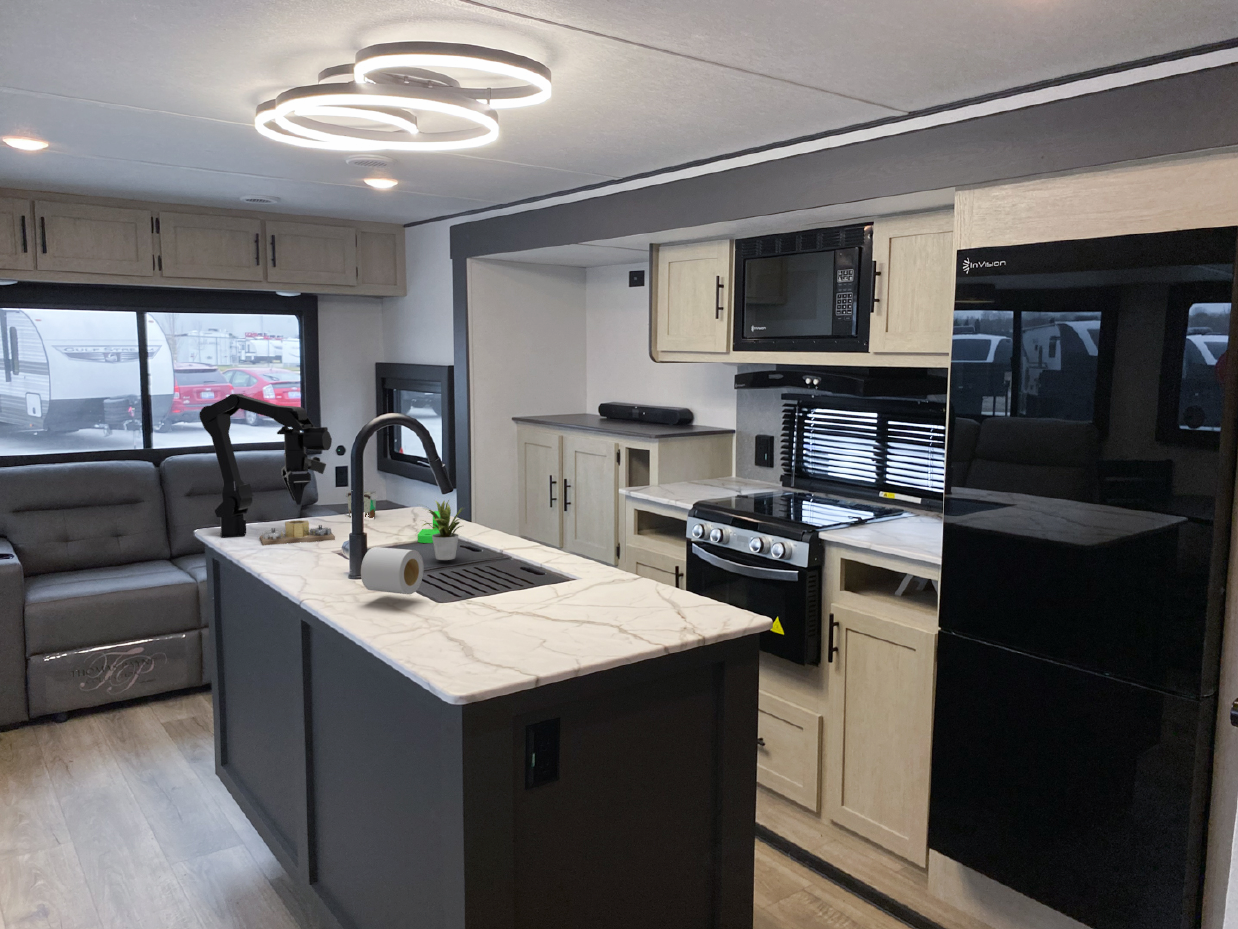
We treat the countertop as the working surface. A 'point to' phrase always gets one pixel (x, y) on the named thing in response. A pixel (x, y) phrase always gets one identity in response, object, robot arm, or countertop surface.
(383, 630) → the countertop surface
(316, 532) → the gear
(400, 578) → the toilet paper
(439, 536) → the house plant
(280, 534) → the gear
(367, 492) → the food container
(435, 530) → the mechanical part
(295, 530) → the tan hollow octagonal ring
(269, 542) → the gear board
